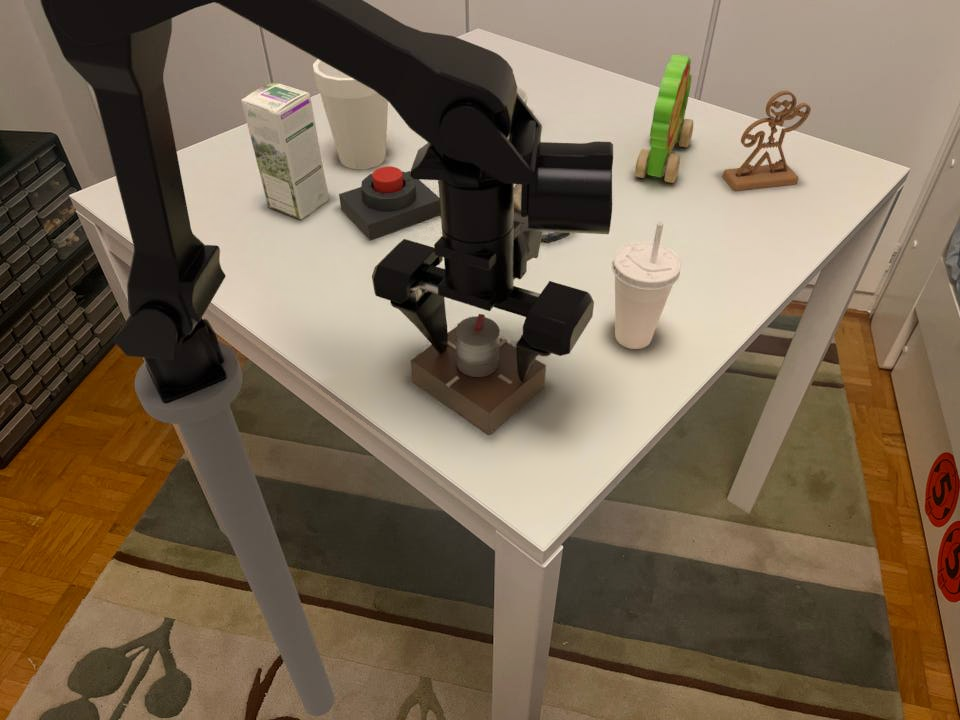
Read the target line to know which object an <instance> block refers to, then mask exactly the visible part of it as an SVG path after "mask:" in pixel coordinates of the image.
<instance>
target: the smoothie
mask: <svg viewBox="0 0 960 720" xmlns="http://www.w3.org/2000/svg"><path fill="white" fill-rule="evenodd" d="M663 228H664V223H663V222H662V221H658V222H657V223H656V227H655V232H654V238H653V242H650V241H636V242H630V243H627V244H624V245H622V246H621V247H619V248H618V249H617V250H616V251H615V253H614V254H613V259H612V261H611V271H612V272H613V275H614V337H615V341H617V343H618V344H619V345H621V346H622V347H623V348H627V349H630V350H641V349H644V348H646V347H648V346H649V345H650V344H651V342H652V339H653V337H654V335H655V331H656V329H657V326H658V325H659V321H660V319H661V316H662V314H663V311H664V309H665V307H666V303H667V300H668V298H669V296H670V294H671V291H672V289H673V285H674V284H676V283H677V281H678V280H679V278H680V275H681V270H682V262H681V258H680V257H679V256H678V254H677V253H675V251H673V250H672V249H670V248H668V247H667V246H664V245H662V244H661V238H662V234H663Z"/></svg>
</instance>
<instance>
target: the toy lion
mask: <svg viewBox="0 0 960 720" xmlns="http://www.w3.org/2000/svg"><path fill="white" fill-rule="evenodd" d="M691 63H692V58H691V57H690V56H687V55H682V54H681V55H680V54H671V55H670V58H669V60H668V64H667V65H666V67H665V70H664V74H663V77H662V79H661V83H660V85H659V89H658V94H657V98H656V101H655V104H654V109H653V115H652V121H651V127H650V131H649V146H650V149H645V148H642V149H641V150H640V152H639V154H638V157H637V160H636V163H635V173H634V174H635V177H636V178H642V179H644V178H645V177H646V176H647V175H648V176H652V177H655V178H656V177H657V178H663V177H664V182H665V183H671V184H674V183H675V181H676V179H677V177H678V173H679V169H680V163H681V161H680V160H681V156H680V154H678V153H672V151H673V149H674V147H675V145H676V143H678V146H679V147H680V148H681V147H682V148H688V147H689V145H690V143H691V140H692V137H693V132H694V119H692V118H685V116H686V112H687V111H686V110H687V106H688V102H689V97H690V91H691V86H692V74H691Z"/></svg>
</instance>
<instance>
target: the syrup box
mask: <svg viewBox="0 0 960 720" xmlns="http://www.w3.org/2000/svg"><path fill="white" fill-rule="evenodd" d="M240 100H241V105H242V108H243V113H244V117H245V121H246V125H247V129H248V133H249V136H250V140H251V144H252V147H253V152H254V156H255V161H256V163H257V169H258V172H259V176H260V179H261V184H262V188H263V191H264V195H265V200H266V203H267V207H268V208H270V209H273V210H275V211H278V212H281V213H283V214H285V215H288V216H290V217H293V218H295V219H298V220H303V219H304V218H306V217H308V216H309V215H311V214H312V213H313V212H315V211H317V210H318V209H319V208H320V207H322V206H323V205H324V204H326V203H327V202H328V201H329V200H330V194H329V190H328V185H327V180H326V175H325V170H324V165H323V159H322V154H321V153H322V152H321V147H320V143H319V136H318V130H317V126H316V125H317V124H316V120H315V114H314V109H313V104H312V99H311V94H310V92H308V91H304V90H301V89H298V88H295V87H292V86H288V85H285V84H282V83H279V82H275V81H273V82H270V83H268V84H266V85H263V86H262V87H259V88H258V89H256V90H254V91H252V92H251V93H249V94H247V96H244V97H243V98H241V99H240Z"/></svg>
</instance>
